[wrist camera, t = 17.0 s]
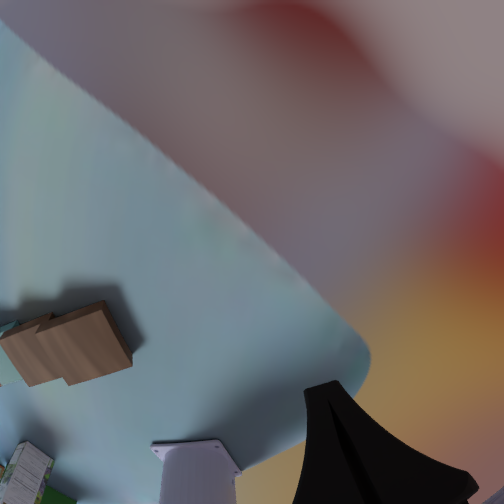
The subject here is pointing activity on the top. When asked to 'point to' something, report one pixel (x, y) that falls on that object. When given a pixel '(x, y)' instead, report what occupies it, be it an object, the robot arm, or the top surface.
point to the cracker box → (1, 471)
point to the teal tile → (7, 361)
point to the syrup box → (25, 476)
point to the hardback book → (52, 496)
